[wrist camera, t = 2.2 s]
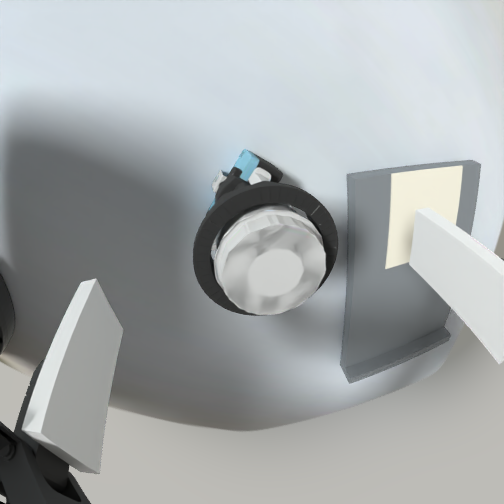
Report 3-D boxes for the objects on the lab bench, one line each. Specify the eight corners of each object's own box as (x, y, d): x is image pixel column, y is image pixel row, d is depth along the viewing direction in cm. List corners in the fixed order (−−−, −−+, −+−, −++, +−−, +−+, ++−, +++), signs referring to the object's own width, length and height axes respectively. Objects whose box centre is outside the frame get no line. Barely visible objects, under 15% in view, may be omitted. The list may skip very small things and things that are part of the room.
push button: (240, 252, 21) (274, 365, 12) (170, 220, 18) (154, 330, 10) (293, 171, 18) (376, 242, 10) (221, 129, 16) (249, 162, 8)
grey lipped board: (340, 364, 30) (349, 383, 27) (346, 174, 19) (367, 186, 17) (436, 326, 31) (448, 340, 28) (471, 160, 20) (493, 169, 18)
